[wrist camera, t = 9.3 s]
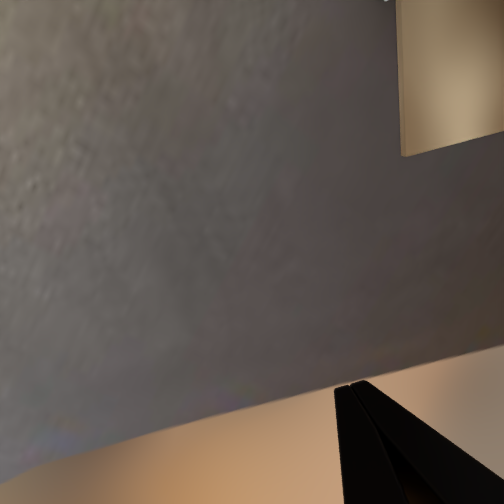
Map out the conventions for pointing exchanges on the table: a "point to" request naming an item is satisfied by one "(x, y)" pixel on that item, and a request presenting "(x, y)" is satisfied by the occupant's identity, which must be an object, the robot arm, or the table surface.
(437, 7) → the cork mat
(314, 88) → the table surface
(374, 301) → the table surface
